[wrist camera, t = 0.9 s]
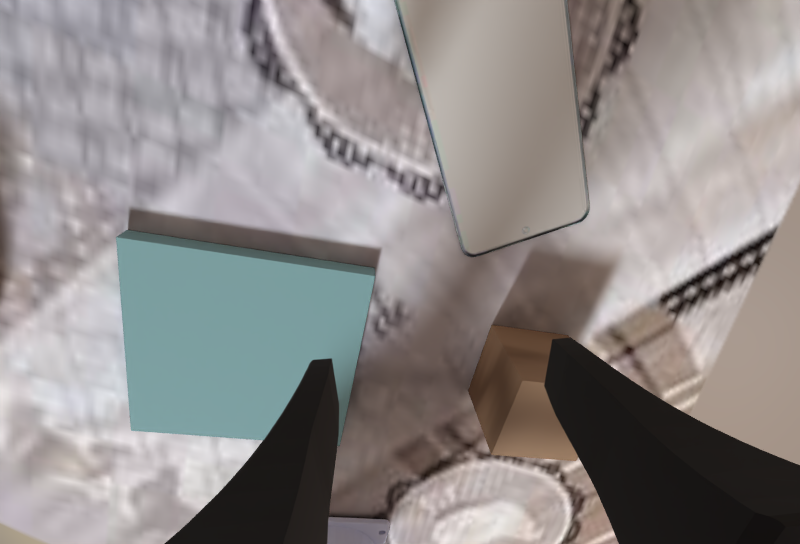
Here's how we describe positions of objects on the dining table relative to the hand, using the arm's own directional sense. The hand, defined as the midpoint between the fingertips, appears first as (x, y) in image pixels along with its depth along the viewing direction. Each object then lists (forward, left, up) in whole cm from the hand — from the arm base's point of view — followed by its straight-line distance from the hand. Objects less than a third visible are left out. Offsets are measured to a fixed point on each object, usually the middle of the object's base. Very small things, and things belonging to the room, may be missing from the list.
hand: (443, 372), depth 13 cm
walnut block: (-6, -8, -9) cm, 14 cm away
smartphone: (+9, -2, -10) cm, 13 cm away
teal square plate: (-7, +8, -9) cm, 14 cm away
